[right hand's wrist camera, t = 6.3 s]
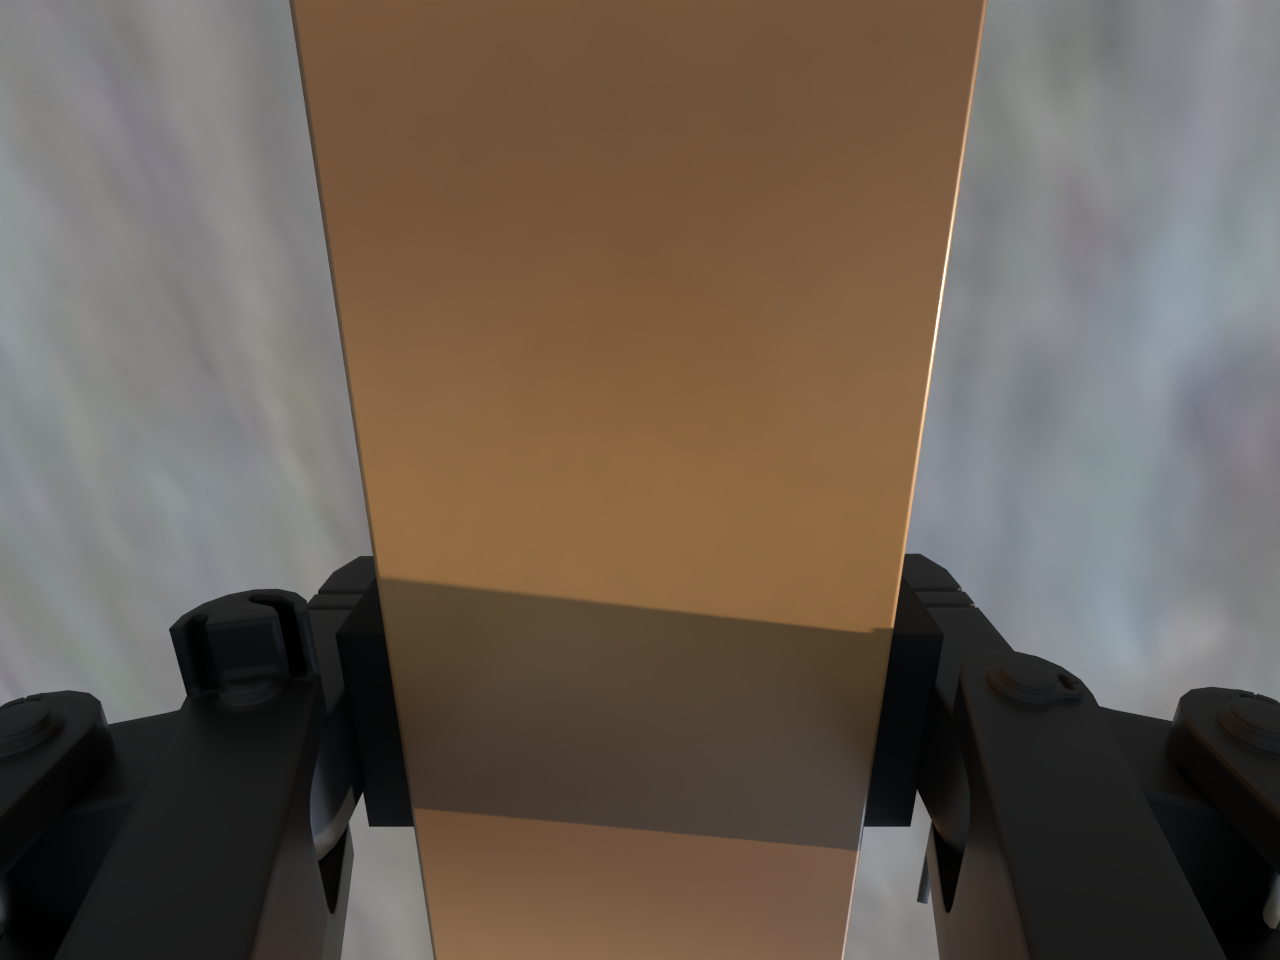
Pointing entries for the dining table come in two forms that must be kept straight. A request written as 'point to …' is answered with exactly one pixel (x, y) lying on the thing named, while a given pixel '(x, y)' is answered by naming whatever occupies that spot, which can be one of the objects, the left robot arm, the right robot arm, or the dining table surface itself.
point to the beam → (638, 438)
